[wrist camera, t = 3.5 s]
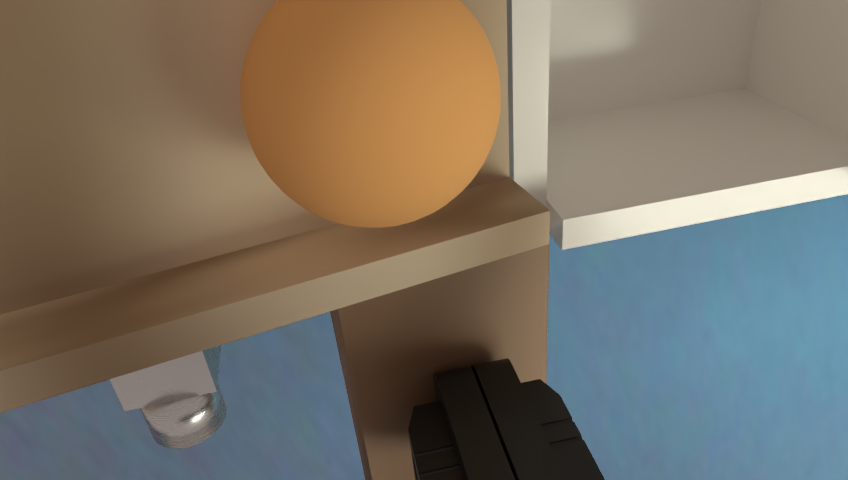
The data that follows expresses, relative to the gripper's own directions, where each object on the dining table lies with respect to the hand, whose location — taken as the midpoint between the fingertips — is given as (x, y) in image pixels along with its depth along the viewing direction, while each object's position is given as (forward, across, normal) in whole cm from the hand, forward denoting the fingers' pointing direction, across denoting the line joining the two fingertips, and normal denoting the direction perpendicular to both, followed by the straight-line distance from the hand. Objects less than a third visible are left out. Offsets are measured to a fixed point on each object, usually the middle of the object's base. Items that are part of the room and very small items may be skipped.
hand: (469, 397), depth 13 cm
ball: (0, +1, -6) cm, 7 cm away
